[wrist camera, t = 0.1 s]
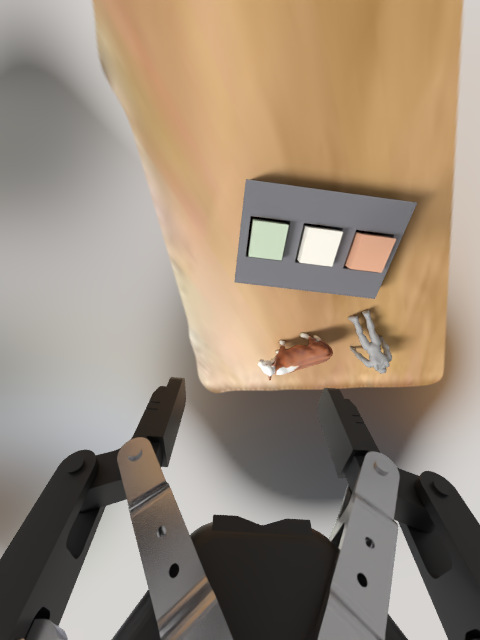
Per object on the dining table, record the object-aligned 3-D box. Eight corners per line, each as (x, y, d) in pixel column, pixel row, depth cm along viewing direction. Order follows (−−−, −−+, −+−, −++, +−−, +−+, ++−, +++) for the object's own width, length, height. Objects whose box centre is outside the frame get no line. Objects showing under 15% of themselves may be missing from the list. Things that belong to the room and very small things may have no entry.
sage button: (252, 218, 33) (253, 220, 30) (285, 222, 33) (288, 225, 30) (248, 251, 35) (248, 256, 32) (278, 255, 35) (281, 260, 33)
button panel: (245, 180, 33) (246, 179, 29) (399, 201, 34) (417, 202, 30) (235, 274, 39) (234, 282, 36) (363, 289, 40) (374, 298, 37)
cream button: (303, 225, 33) (308, 227, 30) (335, 229, 33) (343, 232, 31) (295, 257, 35) (299, 262, 33) (325, 261, 36) (332, 266, 33)
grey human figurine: (337, 317, 46) (358, 370, 47) (344, 322, 41) (368, 381, 42) (369, 305, 44) (390, 359, 46) (380, 308, 39) (404, 369, 40)
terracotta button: (353, 231, 33) (362, 234, 31) (384, 235, 34) (396, 238, 31) (342, 263, 36) (350, 268, 33) (371, 267, 36) (381, 272, 33)
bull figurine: (254, 341, 46) (256, 368, 39) (321, 326, 44) (336, 352, 37) (259, 358, 48) (262, 386, 41) (323, 344, 46) (338, 371, 39)
